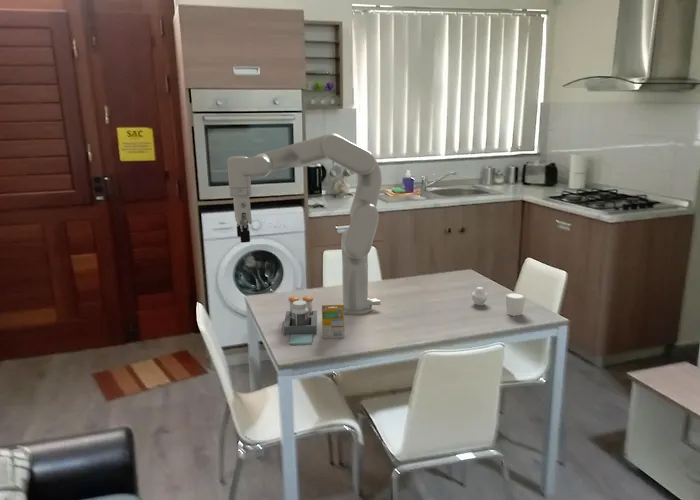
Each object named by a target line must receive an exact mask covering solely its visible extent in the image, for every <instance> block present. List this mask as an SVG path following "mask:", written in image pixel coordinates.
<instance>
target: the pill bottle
mask: <svg viewBox="0 0 700 500" xmlns="http://www.w3.org/2000/svg"><path fill="white" fill-rule="evenodd" d="M306 306H307V302H306V301H303V299H301V300H300V299H299V300H298V301H294V302H293V307H294V308H293V309H292V326H305V325H309V313H308V309H307V308H306Z"/></svg>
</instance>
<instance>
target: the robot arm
mask: <svg viewBox="0 0 700 500" xmlns="http://www.w3.org/2000/svg"><path fill="white" fill-rule="evenodd" d="M328 160H330V161H332V162H334V163H336V164H337V165H339V166H342V167H343V168H345V169H346V170H347V169H348V170H349V171H351V172H354V173H355V174H357V184H356V188H355V192H354V197H353V201H352V204H351V207H350V210H349V215H350V223H349V225H348V226H349V227H348V228H346V229H345V230H344V231H343V233H342V235H341V238H340V239H341V240H340V243H341V247H340V248H341V262H342V263H341V266H342V268H341V269H342V278H341V279H342V303H340V304H339V305H344V315H349V316H355V315H356V316H357V315H359V316H360V315H366V314H368V313H371V312H372V310H373V306H381V300H380V299H377V298H370V297H369V258H368V254H369V253H370V251H371V250H372V246H373V243H374V239H375V235H376V233H377V228H378V224H379V221H380V220H379V219H380V216H379V211H378V209H377V205H378V200H379V197H380V192H381V187H382V182H383V181H382V180H383V177H382V171H381V168H380V165H379V162H378V161H377V160H376V158H375V156H374V154H373V153H372V152H370V151H369V150H367V149H365V148H362V147H361V146H358V145H357V144H355V143H353V142H351V141H349V140H347V139H345V138H344V137H342V136H341V135H339V134H337V133H328V134H323V135H320V136H317V137H313V138H308V139H305V140H301V141H298V142H295V143H292V144H289V145H285V146H284V147H280V148H276V149H273V150H268V151H265V152H262V153H259V154H256V155H254V156H251V157H250V156H249V157H247V156H245V155H238V156H237V155H236V156H235V155H234V156H230V157H228V159H227V162H226V163H227V172H228V173H227V175H228V188H229V197H230V198H233V210H234V218H235V222H236V233H237V237H238V238H240V242H241V243H250V242H251V234H250V226H249V225H252V224H253V223H252V222H253V220H252V209H251V201H250V197H251V196H252V183H251V182H252V181H251V178H258V179H259V178H260V179H261V178H265V177H267V176H269V174H270V173H274V172H277V171H280V170H284V169H290V168H303V167H306V166H310V165H314V164H317V163H320V162H325V161H328Z"/></svg>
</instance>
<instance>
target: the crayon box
mask: <svg viewBox="0 0 700 500" xmlns="http://www.w3.org/2000/svg"><path fill="white" fill-rule="evenodd" d="M321 325H322V328H321V330H322V335H321V336H322V339H340V338H341V339H344V338H345V313H344V305H340V304H325V305H323V304H322V305H321Z"/></svg>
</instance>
